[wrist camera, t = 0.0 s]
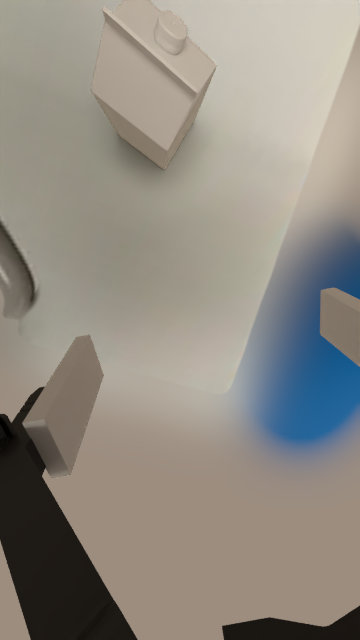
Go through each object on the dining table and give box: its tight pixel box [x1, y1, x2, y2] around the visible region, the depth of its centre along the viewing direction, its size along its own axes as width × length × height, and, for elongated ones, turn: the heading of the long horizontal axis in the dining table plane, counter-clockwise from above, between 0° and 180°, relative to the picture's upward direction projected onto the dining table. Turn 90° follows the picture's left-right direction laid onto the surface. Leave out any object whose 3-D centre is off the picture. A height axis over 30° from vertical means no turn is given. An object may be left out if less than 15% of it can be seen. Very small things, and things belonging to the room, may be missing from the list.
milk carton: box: [91, 0, 217, 170], centre depth 27 cm, size 7×7×19 cm
